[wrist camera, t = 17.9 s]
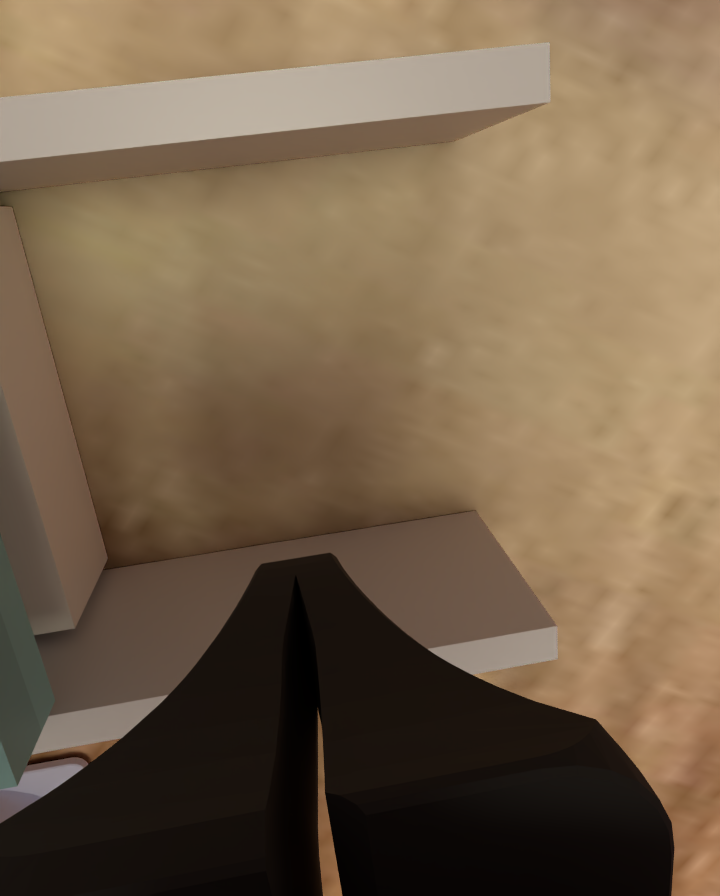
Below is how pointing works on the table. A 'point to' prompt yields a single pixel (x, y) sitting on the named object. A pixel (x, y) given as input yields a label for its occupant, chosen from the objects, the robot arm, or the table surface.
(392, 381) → the table surface
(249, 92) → the housing
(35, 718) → the lid
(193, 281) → the table surface
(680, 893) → the table surface
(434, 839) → the robot arm
